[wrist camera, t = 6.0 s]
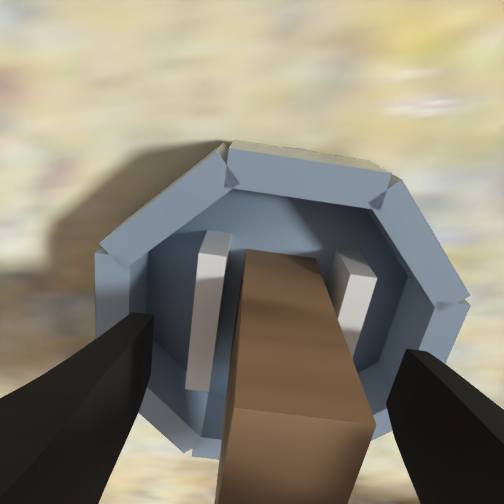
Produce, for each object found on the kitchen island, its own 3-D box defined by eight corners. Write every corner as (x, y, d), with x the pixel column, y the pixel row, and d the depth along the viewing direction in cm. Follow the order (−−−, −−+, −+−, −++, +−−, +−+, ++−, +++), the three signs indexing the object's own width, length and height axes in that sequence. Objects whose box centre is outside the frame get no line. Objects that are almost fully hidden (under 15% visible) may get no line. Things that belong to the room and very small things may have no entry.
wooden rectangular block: (293, 352, 14) (323, 566, 8) (231, 344, 14) (209, 553, 8) (315, 258, 13) (376, 425, 6) (246, 248, 12) (234, 407, 6)
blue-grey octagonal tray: (375, 425, 16) (394, 480, 14) (121, 393, 16) (97, 445, 13) (468, 174, 12) (519, 192, 10) (125, 121, 11) (92, 127, 9)
